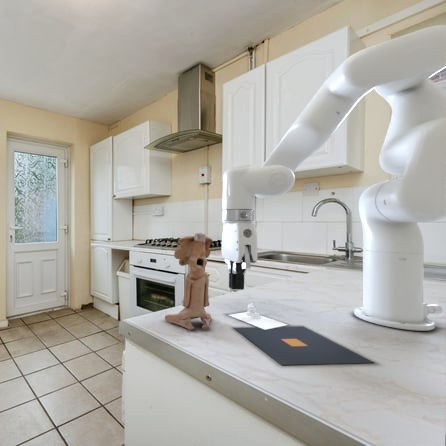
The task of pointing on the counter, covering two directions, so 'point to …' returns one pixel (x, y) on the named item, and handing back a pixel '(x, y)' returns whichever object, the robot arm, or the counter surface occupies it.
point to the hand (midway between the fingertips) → (236, 288)
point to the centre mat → (300, 346)
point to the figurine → (193, 281)
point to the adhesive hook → (257, 318)
